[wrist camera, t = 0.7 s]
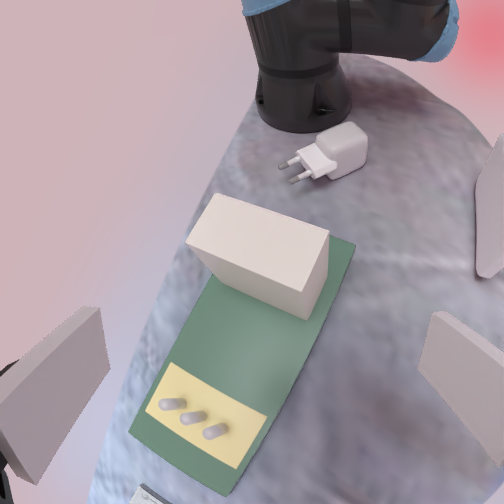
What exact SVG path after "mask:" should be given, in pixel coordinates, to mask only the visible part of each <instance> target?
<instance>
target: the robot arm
mask: <svg viewBox="0 0 504 504" xmlns="http://www.w3.org/2000/svg"><path fill="white" fill-rule="evenodd" d="M241 1H242V5H243V15H244V16H245V18H246V22H247V25H248V29H249V32H250V36H251V39H252V43H253V47H254V50H255V54H256V58H257V62H258V66H259V75H258V81H257V89H256V96H255V99H256V104H257V108H258V112H259V114H260V116H261V118H262V119H263V120H264V121H265V122H266V123H268V124H269V125H271V126H273V127H275V128H277V129H280V130H284V131H288V132H297V133H307V132H316V131H321V130H325V129H328V128H330V127H333V126H335V125H337V124H338V123H340V122H341V121H342V120H344V119H345V118H346V116H347V115H348V114H349V112H350V109H351V91H350V88H349V85H348V83H347V80H346V78H345V75H344V73H343V71H342V68H341V66H340V64H339V56H338V53H354V54H367V55H377V56H385V57H393V58H401V59H406V60H408V61H425V62H439V61H441V60H443V59H444V58H445V57H447V55H448V54H449V53H450V52H451V50H452V48H453V46H454V44H455V41H456V39H457V34H458V29H459V26H458V25H457V21H458V20H459V12H458V6H457V3H456V0H241ZM417 369H418V371H419V372H420V373H421V374H422V375H423V376H424V378H425V379H426V380H427V381H428V382H429V383H430V384H431V386H432V387H433V388H434V389H435V390H436V391H437V393H438V394H439V395H440V396H441V397H442V399H443V400H444V401H445V402H446V403H447V404H448V406H449V407H450V408H451V409H452V410H453V412H454V413H455V414H456V415H457V416H458V418H459V419H460V420H461V421H462V423H463V424H464V425H465V426H466V427H467V429H468V430H469V431H470V432H471V434H472V435H473V436H474V437H475V439H476V440H477V441H478V442H479V444H480V445H481V446H482V447H483V449H484V450H485V451H486V452H487V454H488V455H489V456H490V458H491V459H492V460H493V461H494V463H495V464H496V465H497V467H499V466H501V465H503V464H504V353H503V352H502V351H501V350H499V349H498V348H497V347H495V346H494V345H493V344H491V343H490V342H489V341H487V340H486V339H484V338H483V337H482V336H480V335H479V334H478V333H476V332H475V331H473V330H472V329H470V328H469V327H468V326H466V325H465V324H463V323H462V322H461V321H459V320H458V319H456V318H455V317H453V316H452V315H450V314H449V313H448V312H446V311H440V312H432V315H431V319H430V323H429V327H428V332H427V335H426V339H425V343H424V347H423V350H422V354H421V357H420V361H419V364H418V367H417ZM109 370H110V364H109V360H108V355H107V349H106V344H105V338H104V332H103V326H102V320H101V313H100V308H97V307H87V306H83V307H81V308H80V309H79V310H78V311H77V312H75V313H74V314H73V315H72V316H70V317H69V318H68V319H67V320H65V321H64V322H63V323H62V324H61V325H59V326H58V327H57V328H56V329H55V330H54V331H52V332H51V333H50V334H49V335H47V336H46V337H45V338H44V339H43V340H42V341H40V342H39V343H38V344H37V345H36V346H35V347H33V348H32V349H31V350H30V351H29V352H28V353H27V354H25V355H24V356H23V357H22V358H21V359H20V360H17V361H15V362H13V363H11V364H9V365H7V366H6V367H5V368H4V369H3V370H2V371H0V504H14V503H13V499H12V495H11V490H10V485H9V481H8V477H7V475H6V472H5V471H4V468H5V466H6V465H7V463H8V464H9V465H10V467H11V469H12V470H13V471H14V473H15V474H16V475H17V476H18V477H20V478H22V479H24V480H26V481H28V482H30V483H32V484H34V485H37V484H38V482H39V480H40V479H41V477H42V475H43V474H44V472H45V470H46V469H47V467H48V465H49V464H50V462H51V460H52V458H53V457H54V455H55V454H56V452H57V450H58V449H59V447H60V445H61V444H62V442H63V440H64V439H65V437H66V436H67V434H68V433H69V431H70V429H71V428H72V426H73V425H74V423H75V422H76V420H77V418H78V417H79V415H80V414H81V412H82V411H83V409H84V408H85V406H86V405H87V403H88V401H89V400H90V398H91V397H92V395H93V394H94V392H95V391H96V389H97V388H98V386H99V385H100V383H101V382H102V380H103V379H104V377H105V376H106V374H107V373H108V372H109Z"/></svg>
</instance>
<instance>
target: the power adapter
mask: <svg viewBox="0 0 504 504" xmlns="http://www.w3.org/2000/svg"><path fill="white" fill-rule="evenodd" d="M367 149H368V137H367V135H366V133H365V132H364V131H363V130H362V129H361V128H360V127H359V126H358V125H356V124H355V123H354V122H353V121H347V122H344V123H341V124H339V125H336V126H334V127H332V128H329V129H327V130H325V131H323V132H321V133H319V134H318V135H317V136H316V142H315V143H313V144H310V145H308V146H306V147H304V148H301V149H299V150H297V151H296V152H295V154H296V156H297V157H295V158H293V159H291V160H289V161H286V162H284V163H282V164H280V165H279V166H278V168H279V169H280V170H283V169H285V168H287V167H289V166H291V165H293V164H295V163H298V162H300V163H301V164H302V166H303V167H304V168H305V169H306V171H305V172H303V173H301V174H299V175H297V176H295V177H293V178H290V179H289V183H290V184H294V183H296V182H298V181H300V180H302V179H304V178H306V177H308V176H311V177H312V178H313V179H317V178H319V177H321V176H323V175H325V174H326V175H327V176H328V177H329V178H330V179H338V178H340V177H342V176H344V175H347V174H349V173H351V172H353V171H355V170H357V169H359V168H360V167H362V166H363V165H364V164H365V162H366V157H367Z"/></svg>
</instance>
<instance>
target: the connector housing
mask: <svg viewBox="0 0 504 504" xmlns="http://www.w3.org/2000/svg"><path fill="white" fill-rule="evenodd" d="M185 243H186V244H187V245H188V247H189V248H190V249H191V250H192V251H193V252H194V253H195V254H196V255H197V257H198V258H199V259H200V260H201V261H202V262H203V263H204V264H205V265H206V266H207V267H208V269H209V270H210V271H211V272H212V273H213V274H214V275H215V276H216V277H217V278H218V279H219V280H220V282H221V283H223V284H225V285H227V286H230V287H232V288H234V289H236V290H238V291H240V292H243V293H245V294H247V295H249V296H251V297H254V298H256V299H258V300H260V301H263V302H265V303H267V304H269V305H271V306H274V307H276V308H278V309H281V310H283V311H285V312H287V313H290V314H292V315H294V316H297V317H299V318H301V319H303V320H306V321H308V319H309V317H310V314H311V312H312V310H313V308H314V306H315V304H316V301H317V299H318V297H319V295H320V293H321V290H322V288H323V286H324V284H325V281H326V279H327V276H328V254H329V230H326V229H323V228H320V227H317V226H314V225H312V224H309V223H306V222H303V221H300V220H297V219H294V218H292V217H289V216H286V215H283V214H280V213H277V212H274V211H271V210H268V209H265V208H262V207H259V206H256V205H253V204H250V203H247V202H244V201H241V200H237V199H234V198H231V197H228V196H225V195H222V194H219V193H215V194H214V196H213V197H212V199H211V200H210V202H209V204H208V205H207V207H206V208H205V210H204V212H203V213H202V215H201V216H200V218H199V220H198V221H197V223H196V225H195V226H194V228H193V229H192V231H191V233H190V234H189V236H188V238H187V239H186V241H185Z"/></svg>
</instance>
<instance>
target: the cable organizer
mask: <svg viewBox="0 0 504 504" xmlns="http://www.w3.org/2000/svg"><path fill="white" fill-rule="evenodd" d="M475 198H476V226H477V243H476V271H477V274H478V275H479V276H481V277H485V278H488V279H489V278H491V277H492V276H494V275H495V274H496V273H497V272H499V271H500V270H501V269H502V268H504V134H501V135H500V136H499V138H498V140H497V142H496V144H495V146H494V148H493V150H492V152H491V154H490V156H489V158H488V160H487V162H486V163H485V165H484V167H483V169H482V171H481V173H480V174H479V176H478V179H477V182H476V189H475Z"/></svg>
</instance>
